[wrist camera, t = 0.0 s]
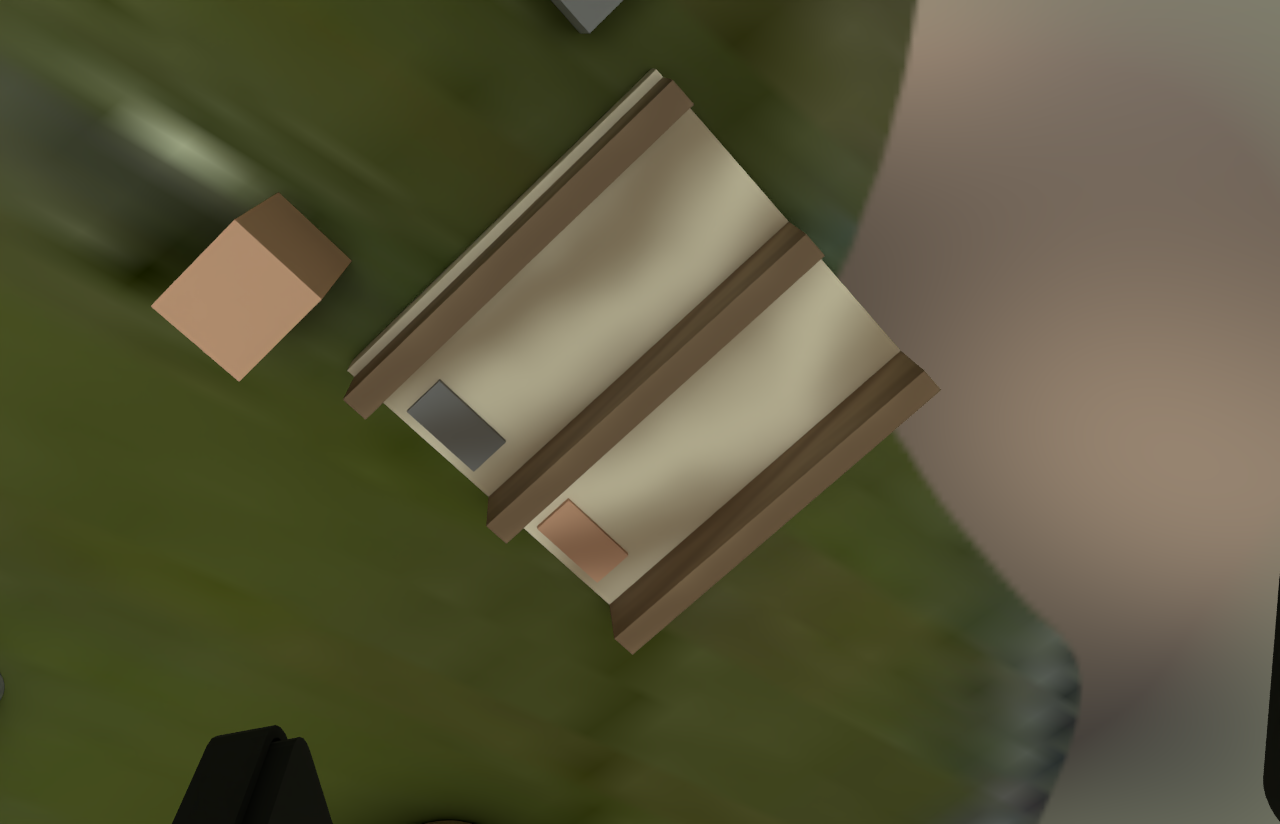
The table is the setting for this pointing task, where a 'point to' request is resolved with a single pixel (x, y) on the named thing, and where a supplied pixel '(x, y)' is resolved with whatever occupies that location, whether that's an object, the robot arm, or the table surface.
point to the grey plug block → (586, 12)
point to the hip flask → (1, 686)
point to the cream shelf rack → (642, 364)
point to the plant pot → (448, 822)
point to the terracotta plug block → (253, 285)
